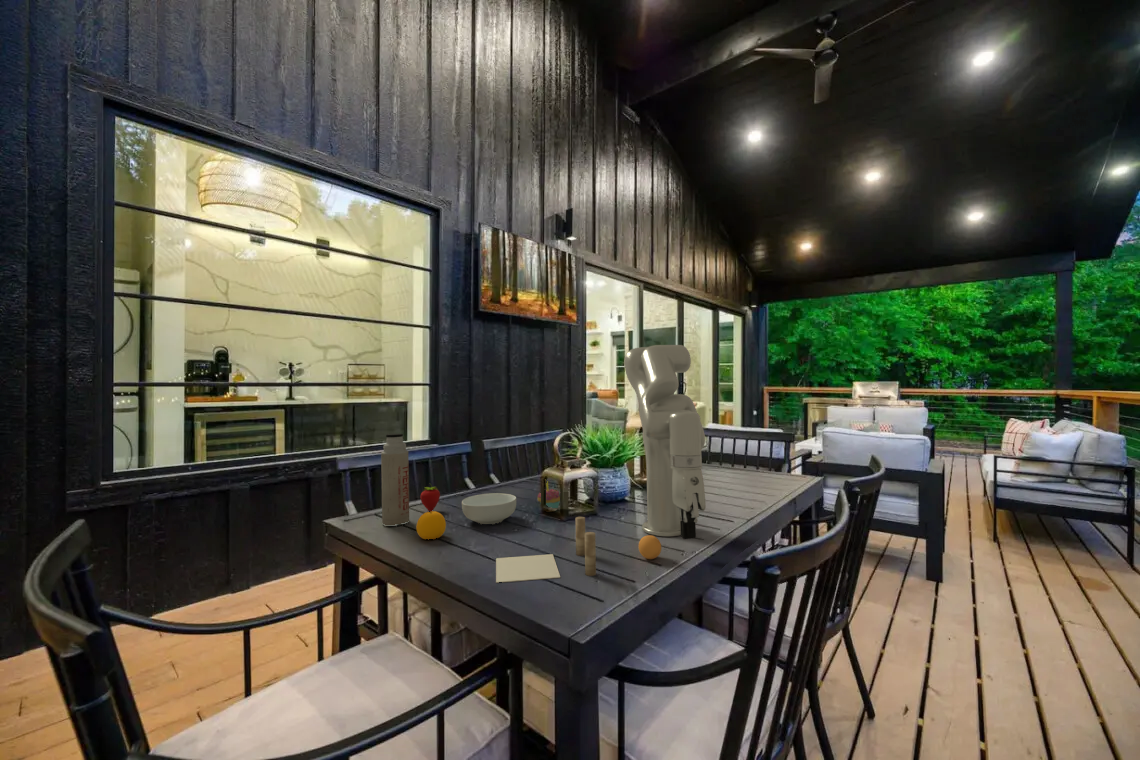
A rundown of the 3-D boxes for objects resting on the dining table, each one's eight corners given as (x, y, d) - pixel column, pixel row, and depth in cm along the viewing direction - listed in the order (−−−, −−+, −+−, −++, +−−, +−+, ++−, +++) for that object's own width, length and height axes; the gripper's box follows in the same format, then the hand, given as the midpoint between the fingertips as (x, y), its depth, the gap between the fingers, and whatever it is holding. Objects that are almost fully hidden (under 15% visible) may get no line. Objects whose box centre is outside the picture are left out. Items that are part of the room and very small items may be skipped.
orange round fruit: (422, 544, 127) (422, 517, 127) (412, 537, 133) (412, 511, 133) (450, 538, 132) (450, 511, 132) (439, 531, 138) (439, 506, 138)
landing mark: (552, 554, 118) (552, 554, 118) (560, 577, 104) (560, 576, 104) (496, 559, 115) (496, 558, 115) (496, 582, 102) (496, 582, 102)
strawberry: (416, 514, 157) (415, 484, 157) (429, 508, 164) (429, 479, 164) (431, 515, 155) (431, 485, 155) (444, 509, 162) (443, 480, 162)
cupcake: (554, 515, 153) (553, 478, 153) (532, 512, 157) (531, 476, 157) (567, 508, 160) (566, 473, 160) (546, 506, 164) (545, 471, 165)
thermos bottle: (414, 521, 148) (413, 432, 148) (393, 528, 142) (391, 435, 142) (398, 518, 153) (397, 431, 153) (376, 524, 146) (375, 434, 146)
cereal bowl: (507, 511, 159) (507, 490, 159) (524, 524, 144) (523, 501, 144) (456, 518, 151) (456, 496, 152) (469, 532, 136) (468, 508, 137)
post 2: (594, 571, 107) (594, 531, 107) (597, 575, 105) (596, 535, 105) (584, 572, 107) (583, 532, 107) (586, 576, 104) (585, 535, 104)
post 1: (584, 552, 119) (584, 516, 119) (586, 555, 117) (585, 519, 117) (575, 552, 119) (574, 517, 119) (576, 556, 116) (576, 519, 116)
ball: (657, 553, 117) (656, 531, 117) (664, 561, 112) (664, 538, 112) (635, 555, 116) (635, 532, 117) (642, 563, 111) (642, 540, 111)
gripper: (714, 465, 109) (717, 545, 108) (688, 458, 123) (690, 528, 123) (683, 466, 108) (685, 548, 107) (660, 459, 122) (662, 530, 121)
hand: (688, 537), depth 115 cm, fingers closed
